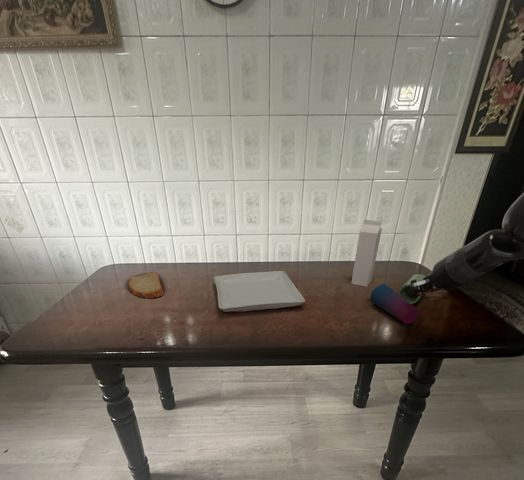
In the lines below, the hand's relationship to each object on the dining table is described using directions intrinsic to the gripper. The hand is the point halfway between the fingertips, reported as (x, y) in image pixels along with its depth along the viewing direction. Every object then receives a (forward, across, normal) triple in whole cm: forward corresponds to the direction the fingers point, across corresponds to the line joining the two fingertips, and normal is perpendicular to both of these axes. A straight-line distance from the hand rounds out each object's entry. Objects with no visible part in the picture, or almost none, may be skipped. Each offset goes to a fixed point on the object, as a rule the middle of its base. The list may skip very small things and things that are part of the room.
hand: (410, 295), depth 84 cm
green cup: (+15, -17, -8) cm, 24 cm away
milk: (+27, -4, -15) cm, 31 cm away
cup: (+2, 0, +6) cm, 6 cm away
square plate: (+27, +38, -15) cm, 48 cm away
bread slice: (+40, +74, -28) cm, 89 cm away
